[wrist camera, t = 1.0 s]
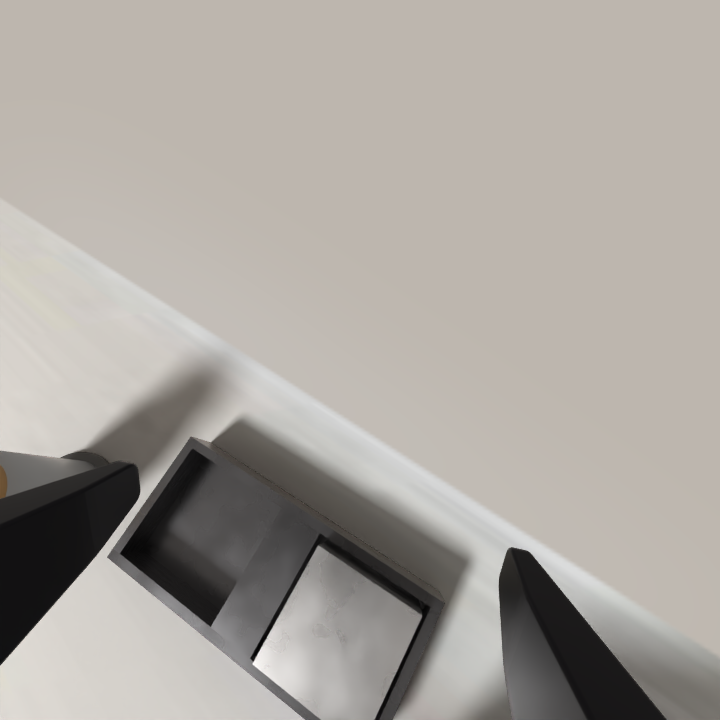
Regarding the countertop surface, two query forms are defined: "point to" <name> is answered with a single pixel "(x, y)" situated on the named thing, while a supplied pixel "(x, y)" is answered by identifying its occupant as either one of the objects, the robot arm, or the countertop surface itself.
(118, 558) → the two-slot holder tray
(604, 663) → the robot arm
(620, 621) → the countertop surface
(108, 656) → the countertop surface
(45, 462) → the multicoloured piece
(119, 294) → the countertop surface
